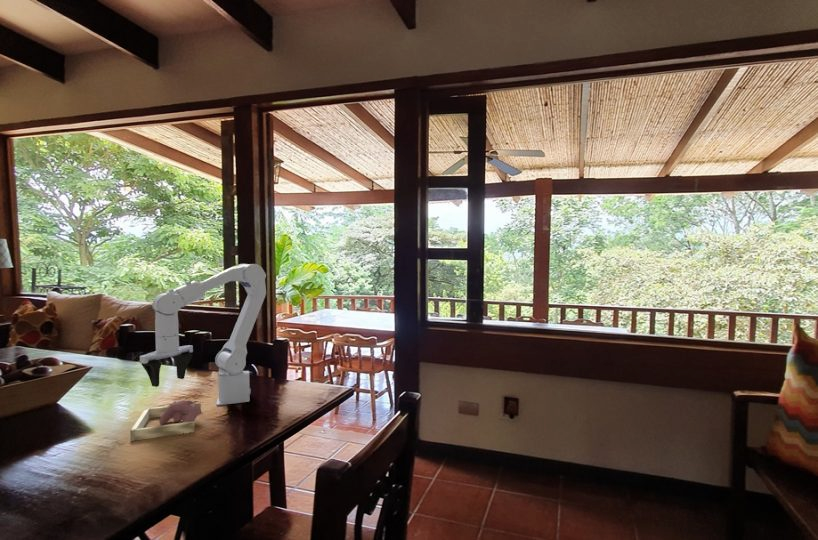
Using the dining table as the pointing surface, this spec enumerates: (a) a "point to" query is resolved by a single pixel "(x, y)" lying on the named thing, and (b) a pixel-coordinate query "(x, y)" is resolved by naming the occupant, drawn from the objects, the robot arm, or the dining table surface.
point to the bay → (158, 431)
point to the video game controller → (181, 412)
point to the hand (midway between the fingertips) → (168, 382)
